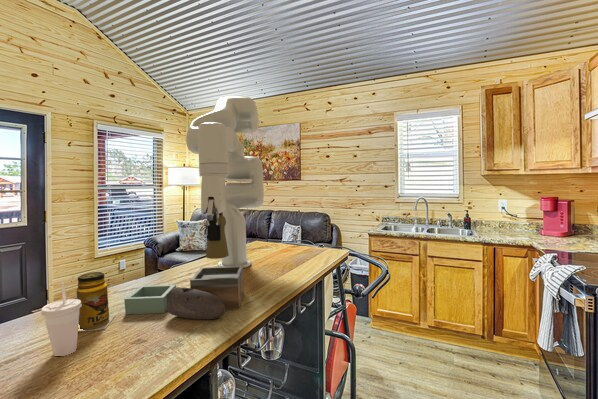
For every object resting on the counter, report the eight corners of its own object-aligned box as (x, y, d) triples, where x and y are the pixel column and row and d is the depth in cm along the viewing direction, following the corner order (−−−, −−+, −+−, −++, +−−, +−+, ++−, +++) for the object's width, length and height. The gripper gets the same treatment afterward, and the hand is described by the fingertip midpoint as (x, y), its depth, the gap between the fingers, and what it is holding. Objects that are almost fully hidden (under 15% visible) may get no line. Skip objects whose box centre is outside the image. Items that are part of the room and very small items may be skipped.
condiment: (105, 329, 72) (101, 278, 72) (62, 334, 71) (58, 281, 70) (115, 315, 80) (112, 268, 79) (77, 320, 78) (73, 271, 77)
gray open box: (202, 295, 92) (200, 267, 92) (243, 293, 93) (242, 266, 92) (191, 311, 81) (190, 280, 81) (238, 309, 82) (237, 278, 81)
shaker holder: (141, 299, 90) (141, 285, 89) (176, 298, 90) (175, 284, 90) (125, 314, 80) (124, 299, 80) (164, 312, 81) (163, 297, 80)
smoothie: (91, 347, 65) (86, 280, 64) (56, 364, 59) (50, 291, 58) (72, 340, 67) (67, 276, 66) (37, 356, 62) (31, 286, 61)
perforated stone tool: (230, 316, 78) (229, 288, 78) (219, 326, 73) (218, 296, 73) (178, 310, 82) (177, 284, 82) (164, 319, 77) (163, 291, 77)
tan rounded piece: (223, 259, 82) (221, 216, 82) (201, 258, 84) (199, 216, 83) (232, 253, 88) (231, 214, 88) (212, 252, 90) (210, 214, 89)
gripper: (207, 171, 93) (209, 233, 94) (190, 170, 76) (193, 245, 77) (233, 171, 93) (235, 232, 94) (222, 169, 76) (225, 244, 77)
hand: (216, 237), depth 86 cm, fingers closed on tan rounded piece, 5 cm apart
